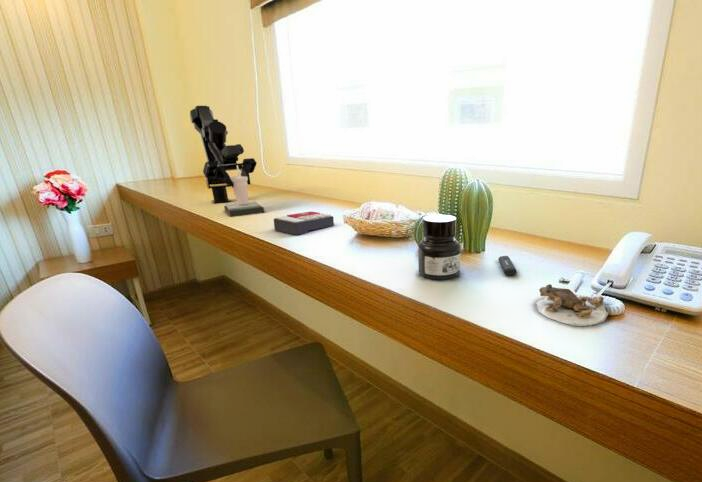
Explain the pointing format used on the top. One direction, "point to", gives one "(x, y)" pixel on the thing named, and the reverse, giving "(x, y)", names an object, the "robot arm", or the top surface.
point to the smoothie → (240, 188)
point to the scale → (243, 209)
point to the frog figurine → (571, 307)
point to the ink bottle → (439, 248)
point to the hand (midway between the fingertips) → (241, 185)
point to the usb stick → (507, 265)
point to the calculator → (302, 222)
